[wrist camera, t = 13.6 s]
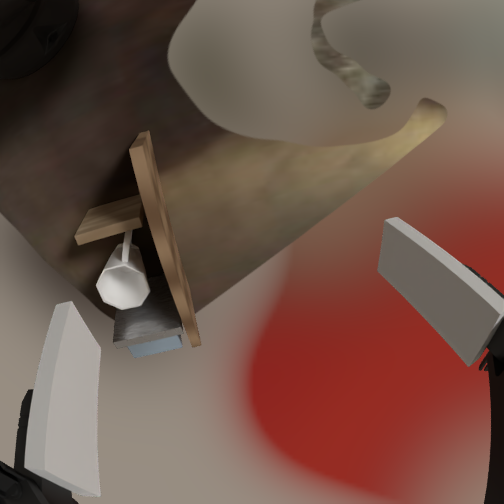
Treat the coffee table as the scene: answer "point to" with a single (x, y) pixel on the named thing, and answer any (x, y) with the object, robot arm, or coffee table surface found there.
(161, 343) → the shelved book
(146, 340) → the bookend
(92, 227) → the divider
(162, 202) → the shelf wall
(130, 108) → the coffee table surface
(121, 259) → the cup
